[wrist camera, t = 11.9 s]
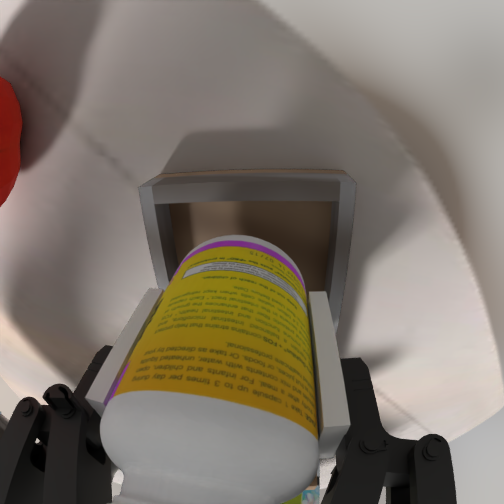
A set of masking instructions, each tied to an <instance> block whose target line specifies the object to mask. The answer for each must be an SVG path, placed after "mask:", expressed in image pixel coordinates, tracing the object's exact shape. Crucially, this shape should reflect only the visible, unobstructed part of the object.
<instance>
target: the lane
mask: <svg viewBox="0 0 504 504" xmlns="http://www.w3.org/2000/svg"><path fill="white" fill-rule="evenodd" d="M138 189H139V195H140V201H141V207H142V213H143V218H144V224H145V229H146V234H147V239H148V244H149V249H150V254H151V258H152V263H153V267H154V271H155V276H156V280H157V284H158V288H159V289H163V290H164V292H165V290H166V288H167V286H168V285H169V283H170V281H171V279H172V277H173V276H174V274H175V272H176V270H177V269H178V267H179V266H180V264H181V262H182V261H183V259H184V258H185V257H186V256H187V254H188V253H189V252H190V251H192V250H193V249H194V248H195V247H197V246H198V245H200V244H202V243H203V242H205V241H208V240H210V239H213V238H216V237H221V236H227V235H246V236H252V237H255V238H259V239H262V240H264V241H267V242H269V243H271V244H273V245H275V246H276V247H278V248H279V249H281V250H282V251H283V252H285V253H286V254H287V255H288V256H289V257H290V258H291V259H292V260H293V262H294V263H295V264H296V266H297V267H298V269H299V271H300V273H301V275H302V278H303V281H304V284H305V290H306V297H307V305H308V298H309V292H320V291H326V294H327V298H328V303H329V307H330V312H331V317H332V321H333V326H334V331H335V336H336V332H337V327H338V322H339V317H340V311H341V306H342V300H343V294H344V288H345V281H346V275H347V268H348V260H349V253H350V245H351V236H352V227H353V217H354V206H355V194H356V182H355V181H354V180H353V179H352V178H351V177H350V176H349V175H348V174H347V173H345V172H344V171H342V170H314V169H248V170H219V171H200V172H185V173H172V174H160V175H158V176H156V177H154V178H153V179H151V180H149V181H148V182H146V183H144V184H143V185H141V186H140V187H138ZM316 487H317V473H316V476H315V478H314V480H313V481H312V483H311V484H310V485H309V486H308V488H307V489H305V490H315V488H316Z"/></svg>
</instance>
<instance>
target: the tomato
mask: <svg viewBox="0 0 504 504" xmlns="http://www.w3.org/2000/svg"><path fill="white" fill-rule="evenodd" d="M22 125H23V122H22V116H21V110H20V104H19V102H18V100H17V97H16V95H15V93H14V90H13V88H12V86H11V83H9V82H8V81H6V80H5V79H3V78H2V77H0V207H1V206H2V204H3V203H4V202H5V201H6V199H7V197H8V196H9V194H10V192H11V191H12V189H13V187H14V184H15V181H16V178H17V176H18V173H19V170H20V163H21V158H20V137H21V131H22Z"/></svg>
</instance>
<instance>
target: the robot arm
mask: <svg viewBox="0 0 504 504" xmlns="http://www.w3.org/2000/svg"><path fill="white" fill-rule="evenodd" d="M163 293H164V290H163V289H150V288H149V289H148V291H147V292H146V294H145V295H144V297H143V299H142V300H141V302H140V303H139V305H138V307H137V308H136V310H135V311H134V313H133V315H132V316H131V318H130V319H129V321H128V323H127V324H126V326H125V328H124V329H123V331H122V333H121V334H120V336H119V338H118V339H117V341H116V343H115V345H114V346H107V345H105V346H104V347H103V348H102V349H101V350H100V351H98V352H97V354H96V355H95V357H94V359H93V360H92V363H91V364H90V365H89V367H88V370H87V371H86V372H85V374H84V376H83V377H82V379H81V381H80V383H79V384H78V386H77V388H76V390H75V391H74V393H73V392H72V391H71V390H70V388H69V387H67V386H66V385H64V384H55V385H53V386H51V387H49V388H48V389H47V390H46V391H45V393H44V395H43V399H44V400H45V401H46V402H47V403H48V405H40V403H39V402H38V401H37V400H36V399H35V398H33V397H26V398H23V399H22V400H21V401H20V402H19V403H18V405H17V406H16V408H15V410H14V412H13V414H12V416H11V418H10V420H8V419H7V418H5V417H4V416H3V415H2V414H1V412H0V504H107V503H112V488H111V483H112V480H113V477H114V475H115V473H116V472H117V470H118V469H119V468H118V467H117V466H116V465H115V464H114V463H113V462H112V461H111V459H110V458H109V456H108V455H107V453H106V451H105V449H104V447H103V444H102V441H101V437H100V423H101V419H102V416H103V413H104V410H105V408H106V406H107V404H108V402H109V399H110V397H111V395H112V393H113V391H114V389H115V387H116V385H117V383H118V381H119V379H120V376H121V374H122V372H123V370H124V368H125V366H126V364H127V362H128V360H129V358H130V356H131V354H132V352H133V350H134V349H135V347H136V345H137V343H138V341H139V339H140V337H141V335H142V333H143V331H144V329H145V327H146V325H147V323H148V321H149V320H150V318H151V316H152V314H153V312H154V310H155V308H156V306H157V305H158V303H159V301H160V299H161V297H162V295H163ZM308 315H309V325H310V335H311V346H312V357H313V368H314V381H315V394H316V408H317V423H318V440H319V459H326V458H333V457H334V455H335V454H336V466H335V467H334V469H333V471H332V472H331V474H332V476H331V479H330V482H329V484H328V487H327V490H326V493H325V495H324V497H323V500H322V502H321V504H378V502H379V499H380V495H381V491H382V488H383V486H385V487H386V504H457V501H456V490H455V481H454V473H453V466H452V460H451V454H450V448H449V445H448V443H447V441H446V440H445V439H444V438H443V437H442V436H440V435H437V434H428V435H426V436H423V437H422V438H421V439H420V440H408V439H400V438H396V437H393V436H391V435H390V434H388V433H387V432H386V431H385V430H384V428H383V427H382V424H381V421H380V416H379V411H378V407H377V402H376V398H375V394H374V390H373V385H372V381H371V377H370V373H369V369H368V367H367V365H366V364H365V363H364V362H363V360H362V359H361V358H346V359H340V357H339V352H338V346H337V341H336V336H335V331H334V326H333V321H332V317H331V312H330V307H329V303H328V298H327V294H326V291H320V292H309V298H308ZM36 438H38V439H39V440H40V442H39V443H35V441H36Z"/></svg>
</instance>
